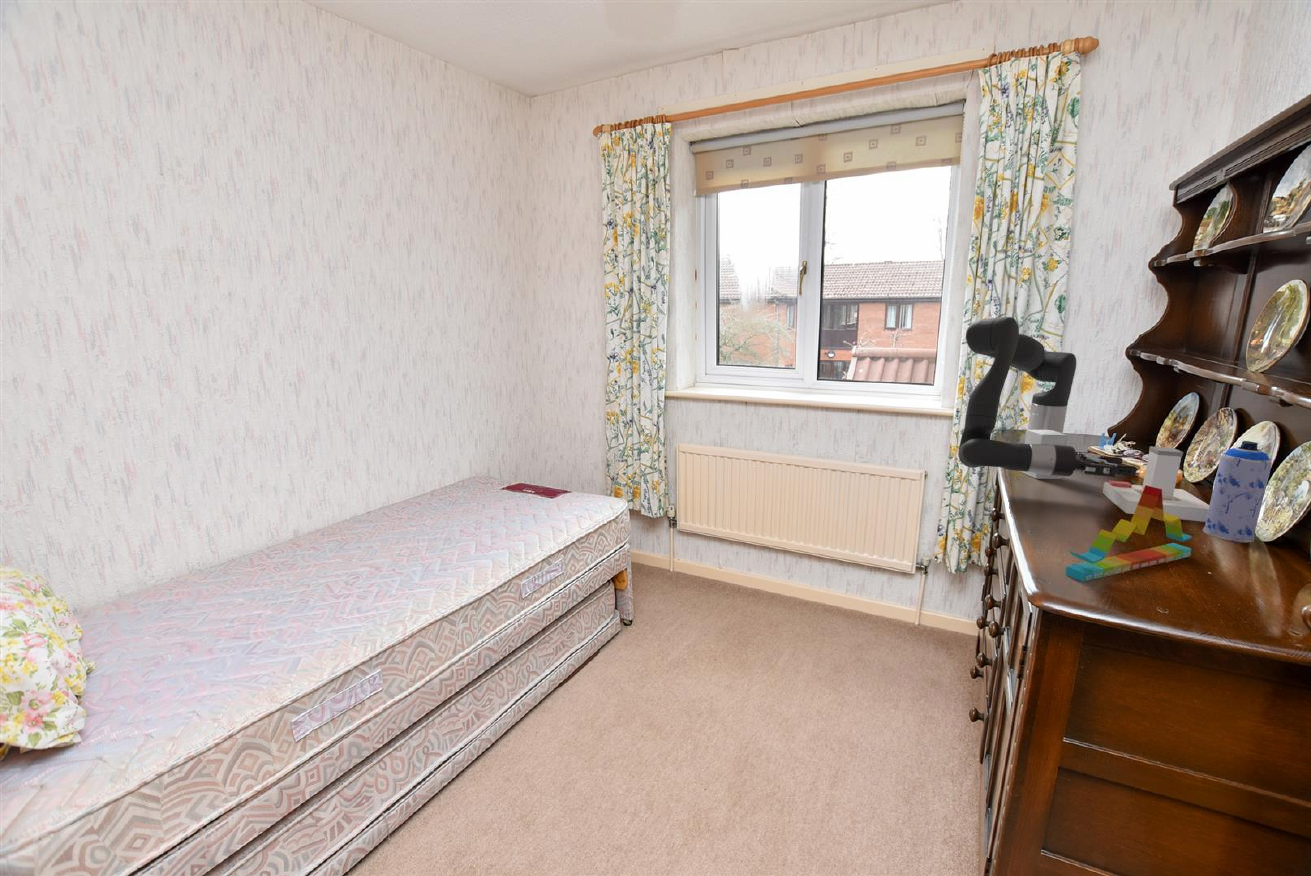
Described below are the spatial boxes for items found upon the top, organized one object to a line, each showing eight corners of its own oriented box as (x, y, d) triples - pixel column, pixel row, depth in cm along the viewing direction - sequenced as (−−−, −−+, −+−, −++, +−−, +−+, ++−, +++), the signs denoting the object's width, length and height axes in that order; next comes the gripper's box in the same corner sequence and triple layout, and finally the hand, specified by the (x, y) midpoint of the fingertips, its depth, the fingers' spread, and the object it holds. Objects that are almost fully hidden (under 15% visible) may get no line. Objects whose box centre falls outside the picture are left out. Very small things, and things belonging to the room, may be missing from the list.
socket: (1102, 493, 149) (1105, 479, 148) (1180, 501, 143) (1183, 486, 142) (1126, 513, 134) (1129, 497, 133) (1214, 522, 129) (1217, 506, 128)
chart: (1083, 584, 100) (1099, 501, 97) (1065, 576, 103) (1079, 495, 100) (1190, 558, 111) (1208, 483, 107) (1171, 552, 114) (1187, 478, 110)
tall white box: (1138, 502, 142) (1149, 446, 139) (1161, 505, 140) (1173, 448, 137) (1146, 508, 137) (1158, 450, 134) (1170, 511, 136) (1183, 452, 133)
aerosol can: (1264, 540, 119) (1288, 445, 115) (1237, 544, 117) (1261, 447, 113) (1218, 526, 127) (1239, 436, 122) (1193, 530, 124) (1213, 438, 120)
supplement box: (1061, 479, 161) (1069, 434, 158) (1034, 479, 161) (1041, 434, 158) (1045, 472, 168) (1052, 429, 165) (1019, 471, 168) (1025, 429, 165)
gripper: (1059, 451, 137) (1143, 458, 132) (1044, 439, 150) (1120, 444, 145) (1054, 481, 139) (1137, 489, 133) (1039, 467, 152) (1114, 473, 146)
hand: (1128, 466), depth 139 cm, fingers open, 8 cm apart
